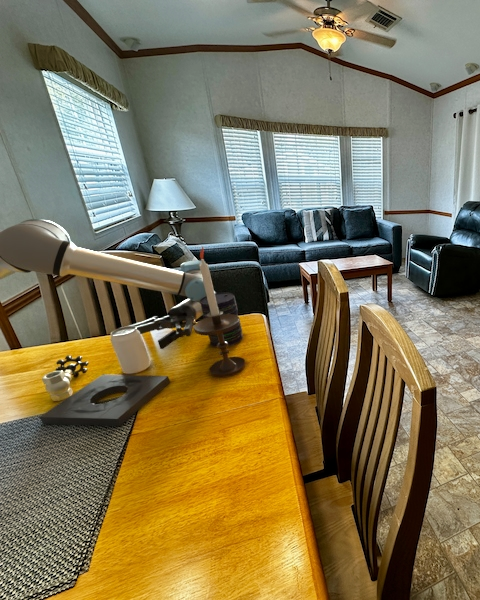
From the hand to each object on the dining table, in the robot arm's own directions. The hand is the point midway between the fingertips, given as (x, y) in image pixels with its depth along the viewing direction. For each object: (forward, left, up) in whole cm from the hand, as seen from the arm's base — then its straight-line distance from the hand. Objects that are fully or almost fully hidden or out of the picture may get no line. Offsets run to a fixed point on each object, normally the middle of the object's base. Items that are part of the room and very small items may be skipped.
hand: (137, 344), depth 93 cm
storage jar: (+17, +15, -7) cm, 23 cm away
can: (0, -2, -7) cm, 7 cm away
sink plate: (+5, -16, -6) cm, 18 cm away
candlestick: (+26, -1, -7) cm, 27 cm away
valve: (-11, -12, -7) cm, 17 cm away
